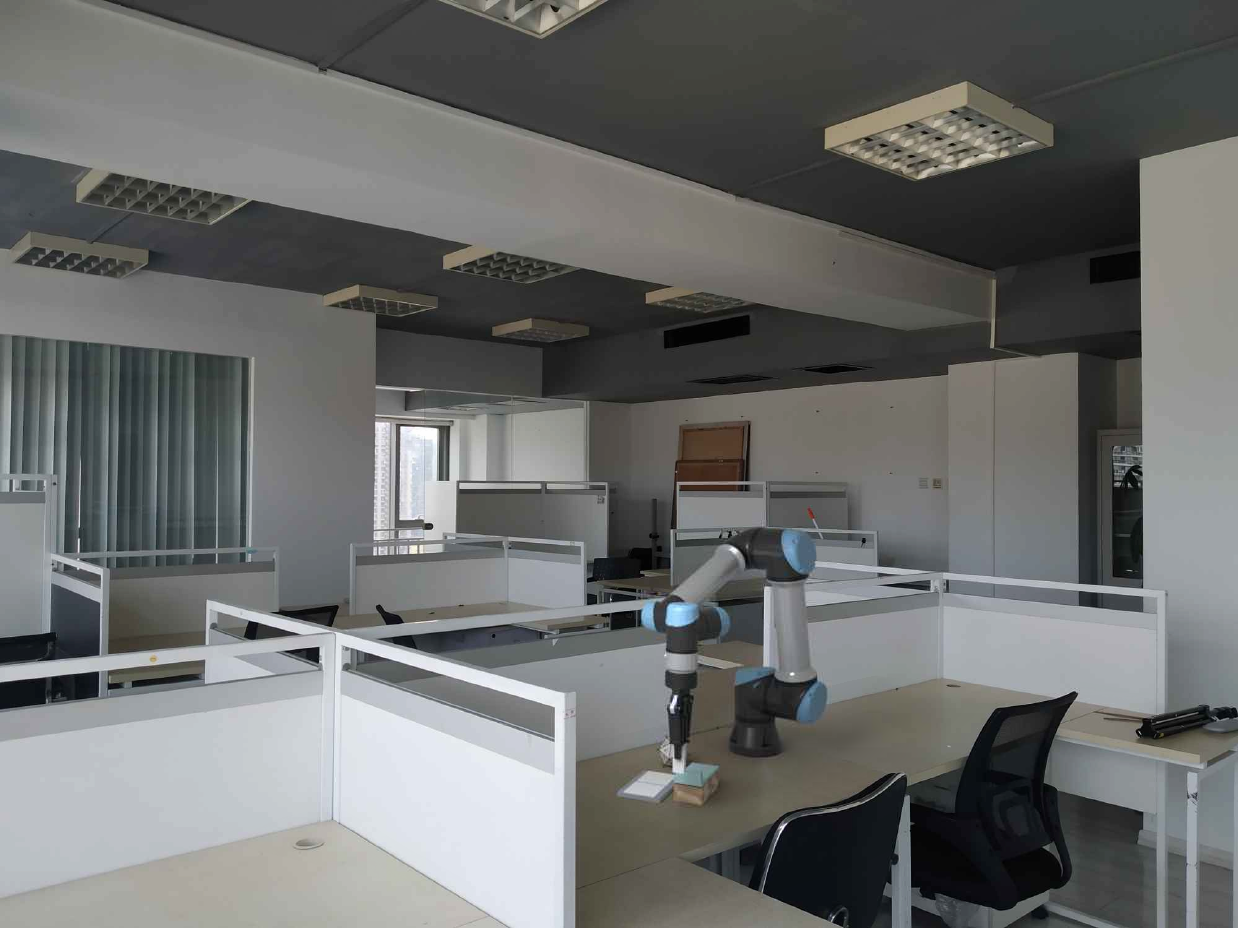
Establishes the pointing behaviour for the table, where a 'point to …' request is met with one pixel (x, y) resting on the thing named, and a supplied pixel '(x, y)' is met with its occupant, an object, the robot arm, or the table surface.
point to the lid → (696, 774)
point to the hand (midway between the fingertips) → (679, 771)
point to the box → (695, 791)
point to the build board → (649, 787)
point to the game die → (667, 752)
